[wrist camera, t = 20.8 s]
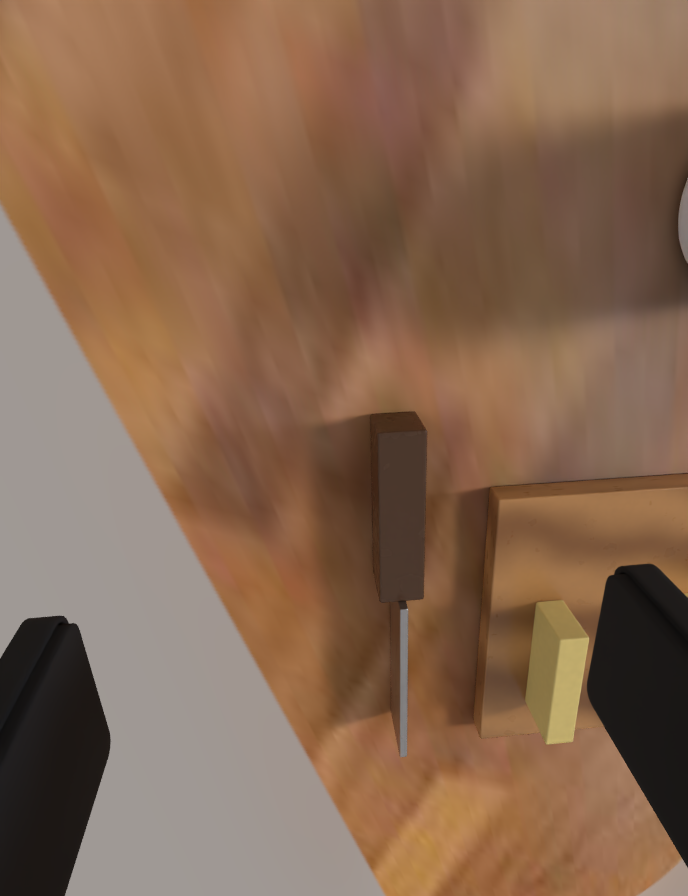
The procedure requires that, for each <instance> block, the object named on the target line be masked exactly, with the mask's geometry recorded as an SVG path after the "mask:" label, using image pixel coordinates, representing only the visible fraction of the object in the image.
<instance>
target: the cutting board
mask: <svg viewBox="0 0 688 896" xmlns="http://www.w3.org/2000/svg"><path fill="white" fill-rule="evenodd" d="M649 563H650V564H654V565H655V566H657V567H658V568H659V569H660V570H661V571H662V572H663V573H664V574H665V575H666V576H667V577H668V578H669V579H670V580H671V581H672V582H673V583H674V584H675V585H676V586H677V587H678V588H679V589H680V590H681V591H682V592H683V593H688V474H673V475H659V476H644V477H630V478H615V479H601V480H587V481H572V482H558V483H543V484H529V485H515V486H500V487H490V491H489V505H488V519H487V533H486V547H485V561H484V575H483V589H482V603H481V617H480V631H479V645H478V659H477V673H476V687H475V701H474V715H473V720H474V723H475V725H476V728H477V731H478V734H479V737H480V738H481V739H483V738H493V737H503V736H513V735H524V734H534V733H540V731H539V729H538V727H537V725H536V722H535V720H534V718H533V716H532V714H531V712H530V710H529V708H528V706H527V704H526V701H525V697H526V689H527V680H528V671H529V662H530V653H531V644H532V635H533V626H534V617H535V608H536V602H544V601H555V600H563V601H564V602H565V604H566V605H567V607H568V608H569V610H570V611H571V612H572V614H573V615H574V617H575V618H576V620H577V621H578V622H579V624H580V625H581V627H582V628H583V630H584V631H585V633H586V634H587V635H588V637H589V643H588V649H587V655H586V661H585V668H584V674H583V680H582V686H581V693H580V699H579V705H578V711H577V717H576V724H575V729H585V728H595V727H604V725H603V724H602V722H601V720H600V719H599V717H598V715H597V714H596V712H595V710H594V709H593V707H592V705H591V703H590V700H589V697H588V693H587V680H588V674H589V669H590V664H591V658H592V653H593V648H594V642H595V637H596V632H597V627H598V621H599V616H600V611H601V605H602V600H603V595H604V589H605V584H606V580H607V578H608V577H609V576H610V575H614V572H615V570H616V569H617V568H618V567H620V566H627V565H638V564H649Z"/></svg>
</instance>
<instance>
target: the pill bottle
mask: <svg viewBox="0 0 688 896" xmlns="http://www.w3.org/2000/svg"><path fill="white" fill-rule="evenodd" d="M678 233H679V241H680V245H681V249H682V252H683V255H684V257H685V260H686V261H687V263H688V179H687V181H686V184H685V187H684V190H683V194H682V198H681V202H680V207H679V216H678Z"/></svg>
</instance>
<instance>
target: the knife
mask: <svg viewBox="0 0 688 896" xmlns="http://www.w3.org/2000/svg"><path fill="white" fill-rule="evenodd" d="M370 431H371V481H372V531H373V573H374V578H375V582H376V587H377V591H378V595H379V600H380V602H381V603H384V602H390V658H391V714H392V719H393V724H394V729H395V734H396V739H397V744H398V750H399V755H400V757H406V756H407V692H408V607H407V604H406V601H408V600H420V599H423V598H424V559H425V511H426V463H427V430H426V428H425V427H424V425H423V423H422V422H421V420H420V419H419V417H418V415H417V414H416V412H401V413H385V414H372V415H371V416H370Z"/></svg>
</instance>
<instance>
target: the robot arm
mask: <svg viewBox="0 0 688 896" xmlns="http://www.w3.org/2000/svg"><path fill="white" fill-rule="evenodd" d="M587 693H588V697H589V700H590V703H591V705H592V707H593V709H594V710H595V712H596V714H597V715H598V717H599V719H600V720H601V722H602V724H603V725H604V727H605V729H606V730H607V732H608V734H609V736H610V737H611V739H612V741H613V742H614V744H615V746H616V747H617V749H618V751H619V752H620V754H621V756H622V757H623V759H624V761H625V763H626V764H627V766H628V768H629V769H630V771H631V773H632V774H633V776H634V778H635V779H636V781H637V783H638V785H639V786H640V788H641V790H642V791H643V793H644V795H645V796H646V798H647V800H648V801H649V803H650V805H651V806H652V808H653V810H654V812H655V813H656V815H657V817H658V818H659V820H660V822H661V823H662V825H663V827H664V828H665V830H666V832H667V833H668V835H669V837H670V839H671V840H672V842H673V844H674V845H675V847H676V849H677V850H678V852H679V854H680V855H681V857H682V859H683V860H684V862H685V864H686V865H687V867H688V597H687V596H686V595H685V594H684V593H683V592H682V591H681V590H680V589H679V588H678V587H677V586H676V585H675V584H674V583H673V582H672V581H671V580H670V579H669V578H668V577H667V576H666V575H665V574H664V573H663V572H662V571H661V570H660V569H659V568H658V567H657V566H655V565H654V564H650V563H649V564H638V565H627V566H620V567H618V568H617V569H616V570H615V572H614V575H610V576H609V577H608V578H607V580H606V584H605V589H604V595H603V600H602V605H601V611H600V616H599V621H598V627H597V632H596V637H595V642H594V648H593V653H592V658H591V664H590V669H589V674H588V680H587ZM109 751H110V732H109V729H108V725H107V722H106V718H105V715H104V712H103V708H102V705H101V702H100V698H99V695H98V691H97V688H96V684H95V681H94V678H93V674H92V671H91V668H90V664H89V661H88V657H87V654H86V651H85V647H84V644H83V641H82V637H81V633H80V630H79V628H78V626H77V625H76V624H74V623H72V624H69V623H68V621H67V619H66V618H65V617H64V616H52V617H41V618H29V619H27V620H25V621H24V622H23V623H22V624H21V625H20V627H19V629H18V630H17V632H16V634H15V635H14V637H13V639H12V640H11V642H10V643H9V645H8V647H7V648H6V650H5V652H4V653H3V655H2V657H1V658H0V896H65V893H66V890H67V887H68V884H69V880H70V877H71V874H72V871H73V868H74V864H75V861H76V858H77V855H78V852H79V849H80V845H81V842H82V839H83V836H84V832H85V829H86V826H87V823H88V820H89V817H90V814H91V810H92V807H93V804H94V801H95V798H96V795H97V791H98V788H99V785H100V782H101V778H102V775H103V772H104V768H105V766H106V763H107V760H108V756H109Z"/></svg>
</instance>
